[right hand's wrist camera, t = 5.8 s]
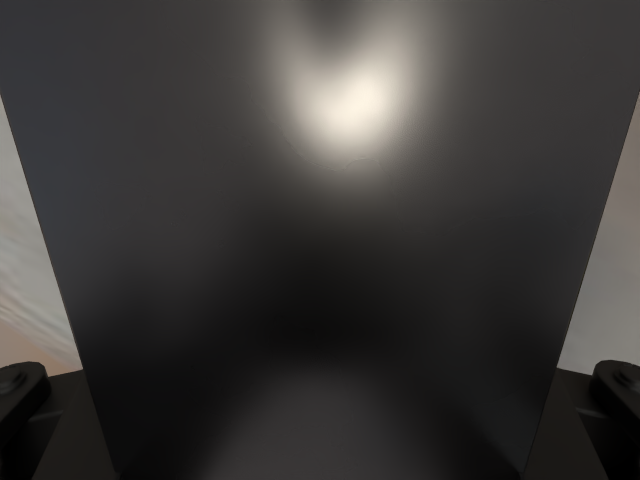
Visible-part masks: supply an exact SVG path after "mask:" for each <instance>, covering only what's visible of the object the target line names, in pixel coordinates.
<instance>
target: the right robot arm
mask: <svg viewBox="0 0 640 480" xmlns="http://www.w3.org/2000/svg"><path fill="white" fill-rule="evenodd" d="M0 480H123V477H122V474H121V472H114V469H113V466H112V462H111V459H110V456H109V452H108V449H107V446H106V442H105V439H104V436H103V432H102V429H101V426H100V423H99V419H98V416H97V413H96V409H95V406H94V403H93V399H92V396H91V393H90V389H89V386H88V383H87V380H86V376H85V373H84V370H83V369H82V370H79V371H75V372H70V373H65V374H60V375H55V376H51V377H48V375H47V372H46V369H45V367H44V366H43V365H42V364H40V363H39V362H22V363H16V364H12V365H9V366H5V367H2V368H0ZM517 480H640V366H637V365H634V364H631V363H627V362H622V361H615V360H605V361H600V362H599V363H597V364H596V366H595V368H594V371H593V374H592V375H587V374H582V373H578V372H573V371H568V370H563V369H559V368H557V367H556V371H555V374H554V377H553V380H552V384H551V387H550V390H549V394H548V397H547V400H546V404H545V407H544V410H543V414H542V417H541V420H540V424H539V427H538V430H537V434H536V437H535V440H534V443H533V447H532V450H531V453H530V457H529V460H528V463H527V467H526V470H525V471H524V472H519V474H518V477H517Z"/></svg>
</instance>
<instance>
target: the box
mask: <svg viewBox="0 0 640 480" xmlns="http://www.w3.org/2000/svg"><path fill="white" fill-rule="evenodd" d="M639 92H640V0H0V95H1V98H2V102H3V105H4V108H5V112H6V115H7V118H8V121H9V125H10V128H11V131H12V135H13V138H14V141H15V145H16V148H17V151H18V155H19V158H20V161H21V164H22V168H23V171H24V174H25V178H26V181H27V184H28V188H29V191H30V194H31V198H32V201H33V204H34V207H35V211H36V214H37V217H38V221H39V224H40V227H41V231H42V234H43V237H44V241H45V244H46V247H47V250H48V254H49V257H50V260H51V264H52V267H53V270H54V274H55V277H56V280H57V284H58V287H59V290H60V294H61V297H62V300H63V303H64V307H65V310H66V313H67V317H68V320H69V323H70V327H71V330H72V333H73V337H74V340H75V343H76V346H77V350H78V353H79V356H80V360H81V363H82V366H83V370H84V373H85V376H86V380H87V383H88V386H89V389H90V393H91V396H92V399H93V403H94V406H95V409H96V413H97V416H98V419H99V423H100V426H101V429H102V432H103V436H104V439H105V442H106V446H107V449H108V452H109V456H110V459H111V462H112V466H113V469H114V472H121V474H122V477H123V480H517V477H518V474H519V472H524V471H525V470H526V467H527V463H528V460H529V457H530V453H531V450H532V447H533V443H534V440H535V437H536V434H537V430H538V427H539V424H540V420H541V417H542V414H543V410H544V407H545V404H546V400H547V397H548V394H549V390H550V387H551V384H552V380H553V377H554V374H555V371H556V367H557V364H558V361H559V357H560V354H561V351H562V347H563V344H564V341H565V337H566V334H567V331H568V327H569V324H570V321H571V317H572V314H573V311H574V308H575V304H576V301H577V298H578V294H579V291H580V288H581V284H582V281H583V278H584V274H585V271H586V268H587V264H588V261H589V258H590V254H591V251H592V248H593V245H594V241H595V238H596V235H597V231H598V228H599V225H600V221H601V218H602V215H603V211H604V208H605V205H606V201H607V198H608V195H609V191H610V188H611V185H612V182H613V178H614V175H615V172H616V168H617V165H618V162H619V158H620V155H621V152H622V148H623V145H624V142H625V138H626V135H627V132H628V128H629V125H630V122H631V119H632V115H633V112H634V109H635V105H636V102H637V99H638V95H639Z"/></svg>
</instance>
